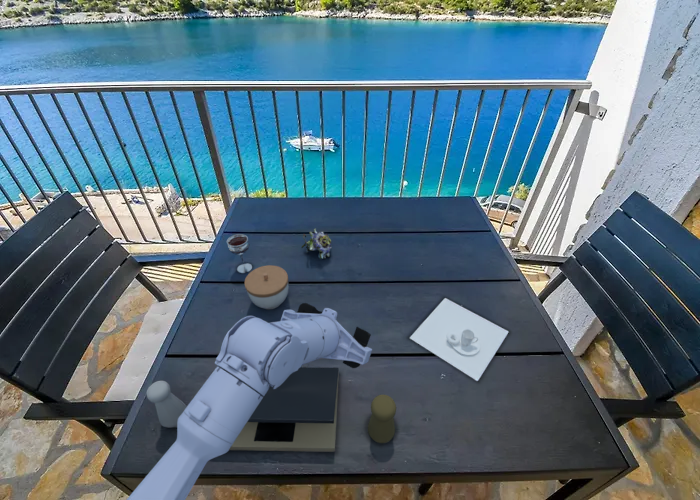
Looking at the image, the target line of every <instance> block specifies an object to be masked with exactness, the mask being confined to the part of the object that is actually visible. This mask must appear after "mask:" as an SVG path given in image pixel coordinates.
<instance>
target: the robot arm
mask: <svg viewBox="0 0 700 500" xmlns="http://www.w3.org/2000/svg"><path fill="white" fill-rule="evenodd" d="M337 317H338V312H337V311H336V310H334V309H332V308H329V307H324V308H323V310H322V311H321V310H318V309H317V308H316V306H314V305H312V304H310V303H308V302H302V303H301V304H299V306H298V309H297V311H295V310H293V309H284V310H283V312H282V315H281V318H280V320H279V321H272V322H268V321H266V320H263V319H262V318H260V317H256V316H254V315H246V316H244V317H242V318H241V319H239V320H238V321H237V322H235V324H234V325H232V327H231V328H230V329H229V330H228V331H227V332H226V335H225V336H224V338H223V341H222V343H221V347H220V351H219V353H218V355H217V357H216V358H215V361H214V364H215V365H216V367H215V369H214V370H213V372H212V373H211V374H210V375H209V377H208V378H207V379H206V380H205V382H204V383H203V385H202V386H201V387H200V389H199V390H198V391H197V392H196V394H195V395H194V397H193V398H192V399H191V400H190V402H189V403H188V404H187V405H186V406H187V407H186V409H185V410H184V411H183V413H182V414H181V415H180V417H179V418H178V421H177V427H176V428H177V429H176V431H177V432H176V439H175V441H174V442H173V444H172V445H171V446H170V447H169V449H168V450H167V451H165V453H164V454H163V456H161V458H160V459H159V460H158V462H156V464H155V465H154V466H153V467H152V468H151V470H150V471H149V472H148V474H146V475H145V477H144V478H143V479H142V481H141V482H140V483H139V484H138V485H137V486H136V488H135V489H134V490H133V491H132V492H131V493H130V495H129V496H128V497H127V498H126V500H186V499H187V498H188V495H190V492H191V491H192V489H193V487H194V486H195V484H196V482H197V480H198V478H199V477H200V475H201V473H202V471H203V469H204V467H205V466H206V465H207V463H208V461H210V460H212V459H214V458H218V457H220V456H223V455H225V454H226V453H228V452H229V451H230V450H229V449H230V447H231V446H232V444H233V443H234V441H235V440H236V438H237V437H238V435H239V434H240V432H241V431H242V429H243V428H244V426H245V424H246V423H247V421H248V420H249V418H250V417H251V415H252V414H253V412H254V411H255V409H256V408H257V406H258V405H259V403H260V402H261V400H262V398H263V397H262V396H264V395H265V394H266V392H267V391H268V389H269V388H270V386H271V387H273V389H276V388H277V387H279V386H280V385H281V384H282V383H283V382H284V381H285V380H286V379H287V378H288V377H289V375H290V374H292V373H293V372H295V371H298V369H299V368H300V367H302V366H304V365H305V364H308V363H311V362H315V361H318V360H319V359H328V360H338V361H342V364H344V365H345V366H348V367H349V368H352V369H357V368H358V367H360V366H363V365H366V364H367V363H369V361H370V358H371V355H372V352H373V348H371V347H368V344H369V341H370V340H371V339H370V338H371V336H372V335H371V333H370V332H369V331H366V330H365V329H363V328H360V327H359V326H355V327H356V328H355V330H354V333H353V336H352V335H351V333H350V332H349V331H348V330H347V329H346V328H344V326H343V325H342V324H341V323H340V322H339V321H338V320H337ZM261 395H262V396H261Z"/></svg>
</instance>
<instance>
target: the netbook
mask: <svg viewBox="0 0 700 500" xmlns="http://www.w3.org/2000/svg"><path fill="white" fill-rule="evenodd" d="M339 377H340V375H339V371H338V382H337V393H336V404H335V415H334V423H333V424H332V423H271V422H247V423H246V424H245V426H244V428H243V429H242V431H241V432H240V434H239V435H238V437H237V438H236V440H235V441H234V443H233V444H232V446H231V447H230V449H229V451H260V452H261V451H262V452H264V451H265V452H266V451H268V452H321V453H328V452H329V453H335V451H336V441H337V440H336V436H337V420H338V419H337V418H338V400H339V399H338V397H339Z"/></svg>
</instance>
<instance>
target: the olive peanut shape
mask: <svg viewBox="0 0 700 500" xmlns="http://www.w3.org/2000/svg"><path fill="white" fill-rule="evenodd" d="M370 412H371V415H370V418H369V421H368V423H367V424H368V425H367V432H368V436H369V437H370V438H371V439H372V440H373V441H374V442H376V443H378V444H387V443H389V442H390V441H391V440H392V439H393V438H394V436H395V432H396V426H395V419H394V417H395V415H396V413H397V405H396V401H394V399H393V397H391V396H389V395H387V394H378V395H376V396H375V397H374V398H373V400H372V401H371V404H370Z"/></svg>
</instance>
